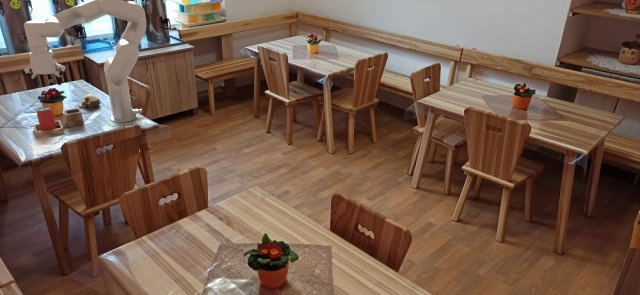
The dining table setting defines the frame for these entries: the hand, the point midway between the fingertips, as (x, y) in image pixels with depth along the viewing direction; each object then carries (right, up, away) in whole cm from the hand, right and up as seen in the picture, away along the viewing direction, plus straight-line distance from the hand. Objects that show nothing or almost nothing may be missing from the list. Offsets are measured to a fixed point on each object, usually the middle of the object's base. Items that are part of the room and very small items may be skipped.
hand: (49, 85), depth 225 cm
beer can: (-3, -22, +5) cm, 23 cm away
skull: (+3, -8, +36) cm, 37 cm away
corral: (-3, -22, +5) cm, 23 cm away
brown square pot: (+5, -18, +14) cm, 23 cm away
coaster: (+10, -22, +6) cm, 24 cm away
